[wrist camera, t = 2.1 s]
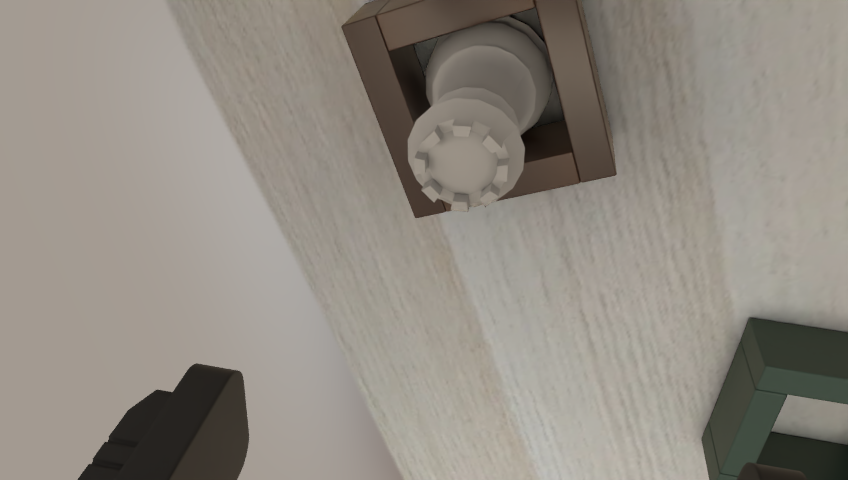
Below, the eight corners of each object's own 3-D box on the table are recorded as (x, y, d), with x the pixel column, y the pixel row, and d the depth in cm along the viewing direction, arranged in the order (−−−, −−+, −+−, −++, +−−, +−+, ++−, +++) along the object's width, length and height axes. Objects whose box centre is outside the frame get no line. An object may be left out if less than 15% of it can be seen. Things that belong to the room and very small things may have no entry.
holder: (429, 181, 28) (415, 219, 26) (364, 3, 25) (340, 26, 22) (612, 139, 26) (617, 175, 23) (567, -63, 23) (566, -47, 20)
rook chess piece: (513, -17, 24) (489, 55, 17) (577, 94, 25) (577, 200, 18) (405, 51, 25) (345, 140, 19) (470, 151, 27) (436, 265, 20)
